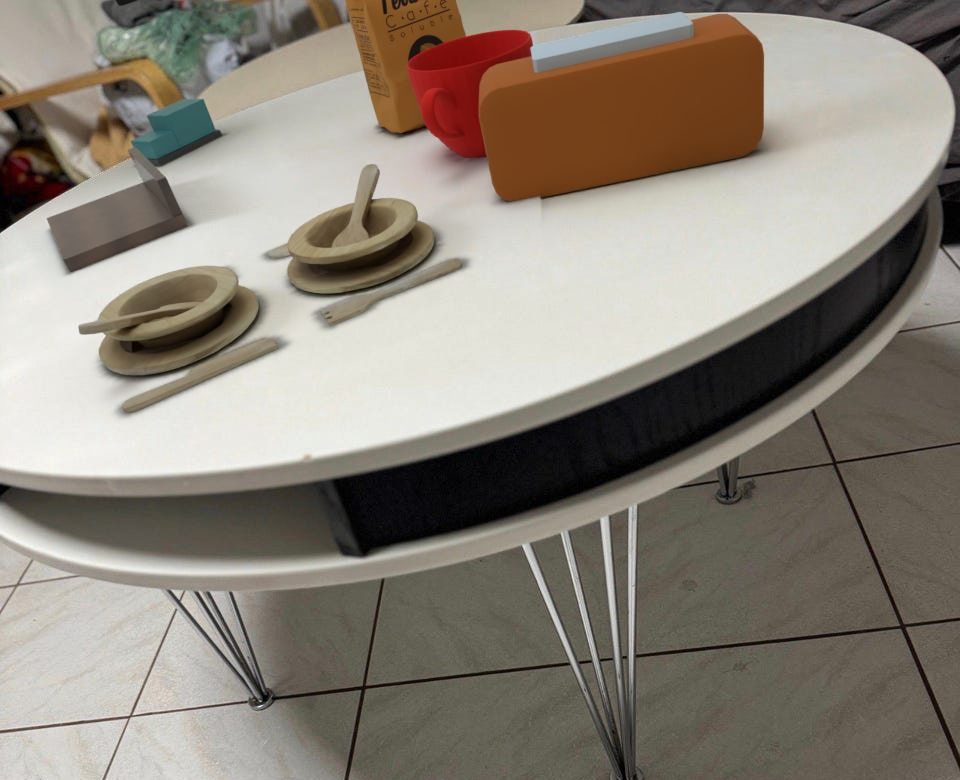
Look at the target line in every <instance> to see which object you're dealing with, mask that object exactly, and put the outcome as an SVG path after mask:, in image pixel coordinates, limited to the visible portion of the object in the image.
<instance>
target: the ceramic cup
mask: <svg viewBox="0 0 960 780" xmlns="http://www.w3.org/2000/svg"><path fill="white" fill-rule="evenodd" d="M533 45H534V41H533V38H532V35H531V33H530V32H528V31H527V30H521V29H501V30H500V29H499V30H491V31H485V32H480V33H476V34H475V33H474V34H470V35H466V37H462V38H458V39H455V40H451V41H448V42H445V43H442V44H439V45H437V46H434V47H432V48H429V49H427V50H425V51H423V52H421V53H419V54H418V55H416V56H414V57H413V58H412V59H410V60H409V62H408V63H407V71H408V74H409V78H410V81H411V84H412V88H413V91H414V94H415V97H416V99H417V102H418V105H419V107H420V110H421V112H422V117H423V120H424V122H425V125H426V126H425V127H426V128H427V130H428V131H429V133H431V134H432V136H433V137H436V138H437V139H438V140H439V141H440V143H442V144H443V145H444V146H446V147H447V148H448V149H449V150H450V151H452V152H453V153H455V154H456V155H458V156H459V157H462V158H471V159H473V158H474V159H475V158H483V157H487V155H486V150H485V145H484V140H483V136H482V131H481V126H480V121H479V87H480V81H481V79H482V76H483V74H484V73H485V72H486V71H487V70H488V69H489V68H490V67H492V66H494V65H496V64H500V63H504V62H509V61H513V60H517V59H522V58H526V57H531V56H532V55H531V49H530V48H531V47H532V46H533Z"/></svg>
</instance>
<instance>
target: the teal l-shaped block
mask: <svg viewBox="0 0 960 780" xmlns="http://www.w3.org/2000/svg"><path fill="white" fill-rule="evenodd" d="M146 118H147V119H148V122H149V124H150V127H151V128H152V131H151V130H150V131H149V132H146V133H145V134H143V135H140V136H138V137H136V138H134V139H132V140H130V143H131V145H132V148H134V147H136V148H137V149H138V150H139V151H140V152H141V153H142V154H143V155H144V156H145V157H146V158H147V159H148V160H149V161H150V162H151V163H152V164H153V165H154V166H155V167H163V166H165V165H166V164H169V163H170V162H173V161H174V160H177V159H178V158H181V157H183V156H185V155H187V154H188V153H190V152H193V151H194V150H197V149H199V148H200V147H202V146H205V145H207V144H209V143H211V142H213V141H215V140H217V139H218V138H221V137H223V134H222V132H221V129H216V127H215V124H214V122H213V119H212V117H211V114H210V112H209V110H208V107H207V104H206V102H205V99H204V98H182V99H180V100H177V101H175V102H173V103H171V104H169V105H167V106H165V107H162V108H159V109H158V110H155V111H153V112H151V113H149V114H147V115H146Z"/></svg>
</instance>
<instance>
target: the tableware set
mask: <svg viewBox="0 0 960 780" xmlns="http://www.w3.org/2000/svg"><path fill="white" fill-rule="evenodd" d="M380 175H381V171H380V169H379V166H378V165H377V164H375V163H371V164H367V165H365V166H363V168H362V169H361V171H360V175H359V178H358V183H357V188H356V192H355V197H354V202H350V203H346V204H344V205H341V206H338V207H335V208H332V209H329V210H327V211H325V212H322V213H319V214H318V215H316V216H315V217H312V218H311V219H309V220H308V221H306V222H304V223H303V224H301V225H300V226H299V227H298V228H296V230H294V231H293V233H291V234H290V236H289V238H288V241H287V243H285V244H282V245H280V246H277V247H275V248H273V249H270V250H268V251H267V253H266V254H267V255H268V257H269V259H271V260H280V259H281V260H282V259H284V258H285V259H286V258H288V257H292V259H290V261H289V263H288V265H287V269H286V274H287V277H288V279H289V281H290V282H291V284H292V285H294V287H296V288H298V289H300V290H302V291H305V292H308V293H315V294H339V293H341V294H342V293H346V292H351V291H356V290H360V289H365V288H370V287H372V286H376V285H378V284H382V283H384V282H387V281H389V280H391V279H394V278H396V277H398V276H401V275H402V274H404V273H406V272H407V271H409V270H411V269H413V268H414V267H415V266H417V265H418V264H419V263H421V262H422V261H423V260H425V259H426V257H427V256H428V255H429V254H430V253H431V250H432V249H433V247H434V245H435V233H434V230H433V229H432V227H431V226H430V225H429V224H427V223H425V222H423V221H421V220H418V219H419V214H418V209H417V207H416V206H415V204H413V203H412V202H411V201H408V200H406V199H403V198H397V197H396V198H395V197H380V198H373V197H374V194H375V191H376V189H377V186H378V181H379V179H380ZM462 267H463V264H462V261H461V260H460V259H457V258H453V259H452V258H451V259H449V260H446V261H444V262H441V263H439V264H436V265H434V266H432V267H430V268H427V269H425V270H423V271H421V272H418V273H415V274H414V275H411V276H409V277H407V278H405V279H402V280H400V281H398V282H395V283H393V284H390V285H388V286H386V287H384V288H382V289H379V290H378V291H375V292H373V293H369V294H365V295H364V294H363V295H357V296H352V297H349V298H346V299H343V300H341V301H338V302H336V303H333V304H331V305H329V306H326V307H324V308H321V309H320V310H319V312H320V315H321V316H322V317H323V318H324V320H325V321H327V324H328V325H329V326H330V327H331V326H334V325H337V324H339V323H342V322H344V321H346V320H349V319H351V318H354V317H356V316H358V315H361V314H363V313H364V312H366V311H367V310H368V309H369V308H371V306H373V305H374V304H375V303H377V302H379V301H382V300H384V299H386V298H389V297H392V296H394V295H397V294H400V293H402V292H405V291H408V290H410V289H413V288H416V287H418V286H420V285H423V284H426V283H428V282H430V281H433V280H436V279H438V278H441V277H443V276H445V275H448V274H451V273H454V272H456V271H458V270H460V269H461V268H462ZM239 282H240V281H239V278H238V274H236V272H234V270H232V269H229V268H227V267H225V266H221V265H219V266H218V265H198V266H189V267H185V268H181V269H176V270H173V271H169V272H168V271H167V272H166V273H163V274H160V275H156V276H154V277H151V278H148V279H147V280H144V281H142V282H139V283H138V284H137V283H136V284H135V285H134V286H132V287H130V288H128V289H127V290H125V291H123V292H122V293H121V294H119V295H118V296H116V297H115V298H114V299H112V300H111V301H110V302H108V303H107V304H106V305H105V307H104V308H103V309H102V311H100V313H99V315H98V317H97V320H95V321H90V322H85V323H81V324H79V325H77V327H78V333H79V335H81V336H83V335H85V336H86V335H95V334H101V333H102V334H103V335H105V336H104V338H103V339H102V341H101V343H100V345H99V347H98V356H99V359H100V361H101V362H102V364H103V365H104V367H105V368H107V369H108V370H110V371H112V372H113V373H115V374H116V373H117V374H120V375H124V376H148V375H155V374H159V373H164V372H169V371H172V370H176V369H178V368H182V367H184V366H188V365H190V364H193V363H195V362H197V361H199V360H202V359H204V358H206V357H208V356H210V355H212V354H215V353H216V352H218V351H219V350H221V349H222V348H224V347H226V346H227V345H229V344H230V343H232V342H233V341H234V340H236V339H237V338H238V337H239V336H241V335H242V334H243V333H244V332H245V331H246V330H247V329H248V328H249V327H250V326H251V324H252V323H253V322H254V320H255V319H256V316H257V315H258V313H259V308H260V305H259V299H258V297H257V295H256V294H255V292H254V291H253V290H251V289H250V288H248V287H246V286H242V285H240V283H239ZM277 349H279V346H278V344H277V342H276V340H274V339H271V338H263V339H261V340H258V341H255V342H253V343H250V344H248V345H244V346H242V347H240V348H237V349H234V350H232V351H230V352H227V353H224V354H223V355H220V356H218V357H215V358H213V359H211V360H208V361H205V362H203V363H200V364H198V365H196V366H194V367H192V369H191V371H190V372H189V373H188V374H187V375H186V376H183V377H181V378H179V379H176V380H174V381H170V382H168V383H166V384H163V385H160V386H158V387H155V388H152V389H150V390H147V391H145V392H142V393H140V394H137V395H134V396H132V397H130V398H128V399H126V400H125V401H124V402H123V403H122V404H121V409H122V410H123V412H124V413H126V414H130V413H134V412H137V411H139V410H142V409H144V408H147V407H149V406H151V405H154V404H156V403H158V402H160V401H163V400H165V399H167V398H170V397H172V396H174V395H176V394H179V393H180V392H183V391H186V390H187V389H190V388H192V387H195V386H196V385H199V384H201V383H203V382H205V381H208V380H210V379H212V378H215V377H217V376H219V375H221V374H224V373H226V372H229V371H230V370H233V369H235V368H237V367H239V366H242V365H244V364H246V363H249V362H251V361H253V360H256V359H258V358H261V357H263V356H265V355H267V354H269V353H271V352H274V351H277Z"/></svg>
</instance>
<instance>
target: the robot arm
mask: <svg viewBox="0 0 960 780" xmlns="http://www.w3.org/2000/svg"><path fill="white" fill-rule="evenodd" d="M137 1H138V0H115V2H116V4H117V5H118V6H119V7H123V6H126V5H129V4H132V3H134V2H137ZM158 1H159V2H161V1H162V0H158Z"/></svg>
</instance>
